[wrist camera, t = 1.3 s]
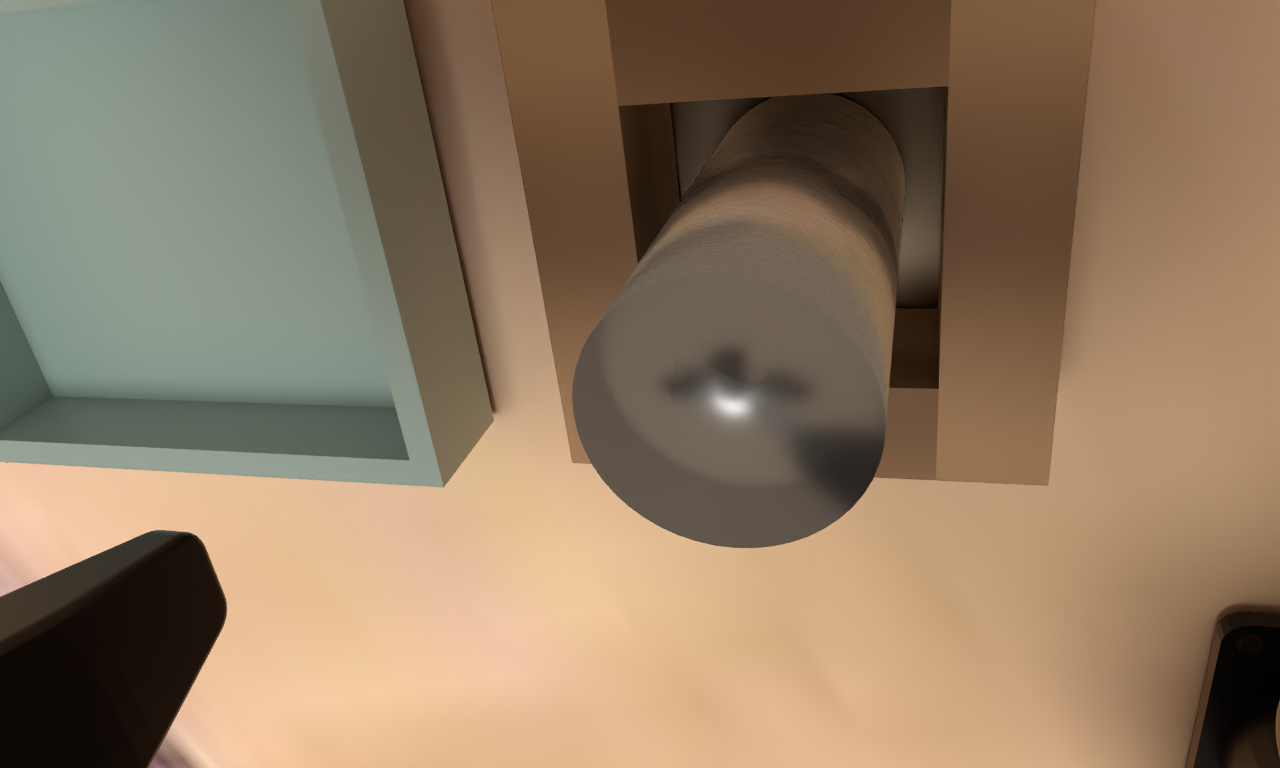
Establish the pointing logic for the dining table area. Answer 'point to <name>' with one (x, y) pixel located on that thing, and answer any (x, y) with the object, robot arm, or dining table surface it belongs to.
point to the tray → (228, 244)
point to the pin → (756, 334)
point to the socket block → (817, 64)
